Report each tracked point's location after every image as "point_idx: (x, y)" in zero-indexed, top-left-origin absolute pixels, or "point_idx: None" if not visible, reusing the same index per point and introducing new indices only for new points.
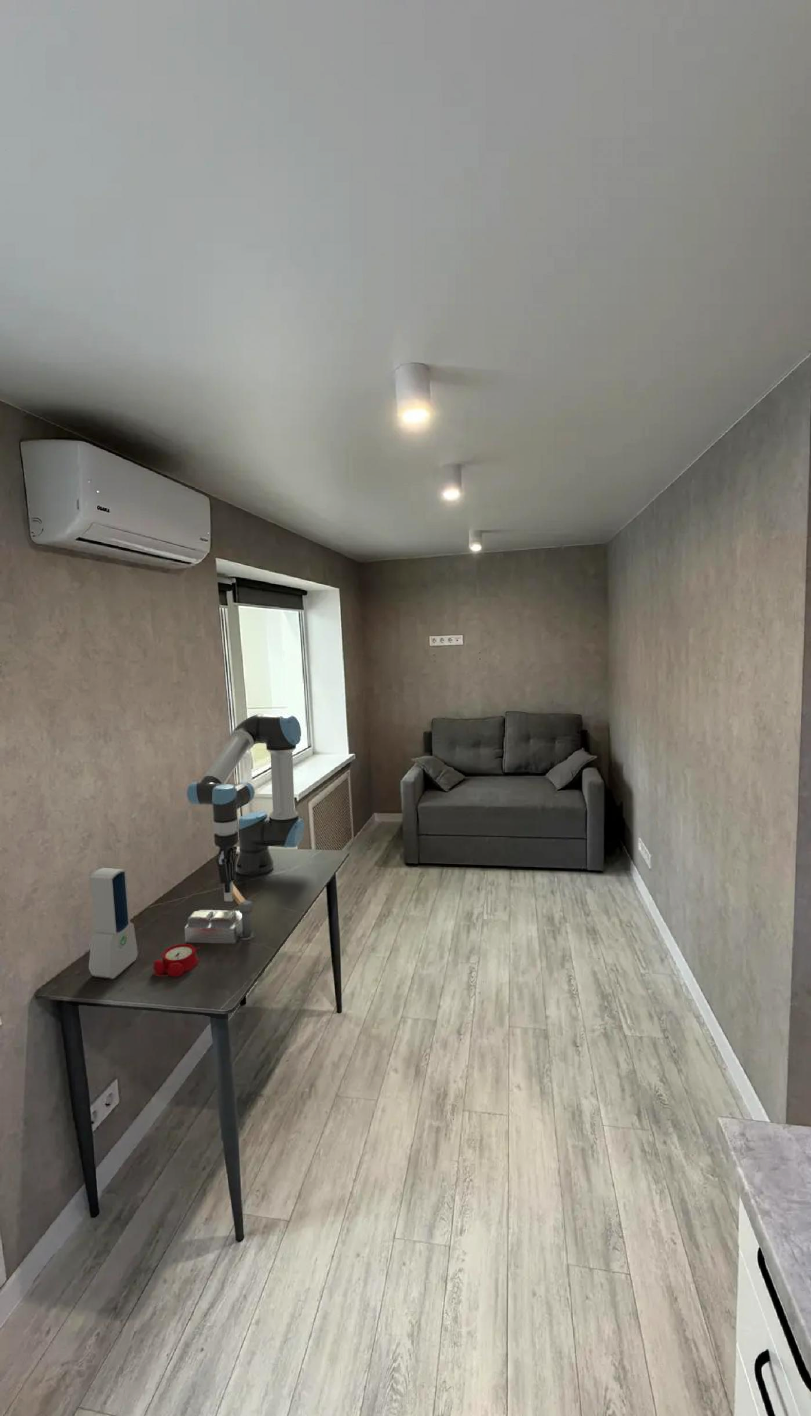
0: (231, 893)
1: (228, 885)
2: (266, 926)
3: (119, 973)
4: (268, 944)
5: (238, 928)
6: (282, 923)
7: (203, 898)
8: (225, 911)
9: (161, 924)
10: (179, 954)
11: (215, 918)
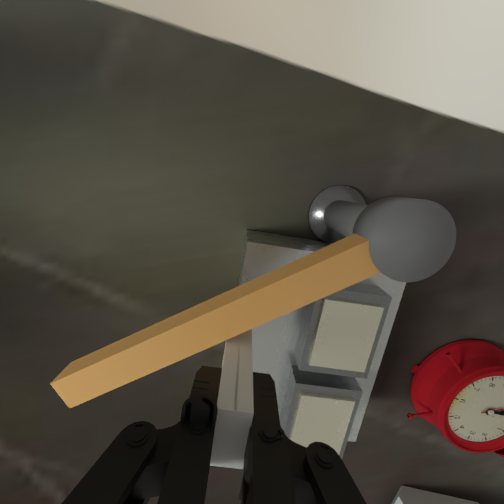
0: (251, 355)
1: (278, 420)
2: (267, 148)
3: (458, 498)
4: (413, 121)
5: None
6: (249, 77)
7: (30, 414)
8: None
9: (213, 481)
10: (495, 407)
11: (366, 361)
